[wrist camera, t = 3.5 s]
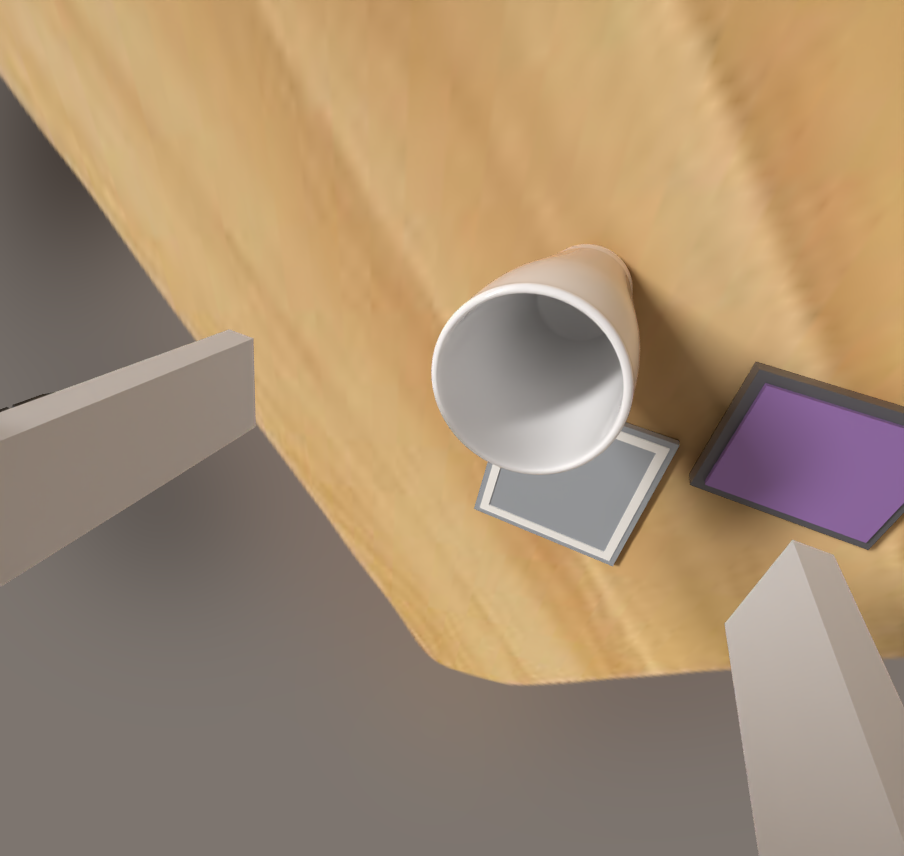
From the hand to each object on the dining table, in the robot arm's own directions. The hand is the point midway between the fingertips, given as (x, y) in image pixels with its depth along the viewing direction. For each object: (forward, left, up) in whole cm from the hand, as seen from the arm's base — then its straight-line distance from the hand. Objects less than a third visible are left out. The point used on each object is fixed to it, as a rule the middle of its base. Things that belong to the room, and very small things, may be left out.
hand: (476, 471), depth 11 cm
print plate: (+3, -12, -20) cm, 23 cm away
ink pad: (+15, -5, -20) cm, 25 cm away
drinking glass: (0, 0, -20) cm, 20 cm away
